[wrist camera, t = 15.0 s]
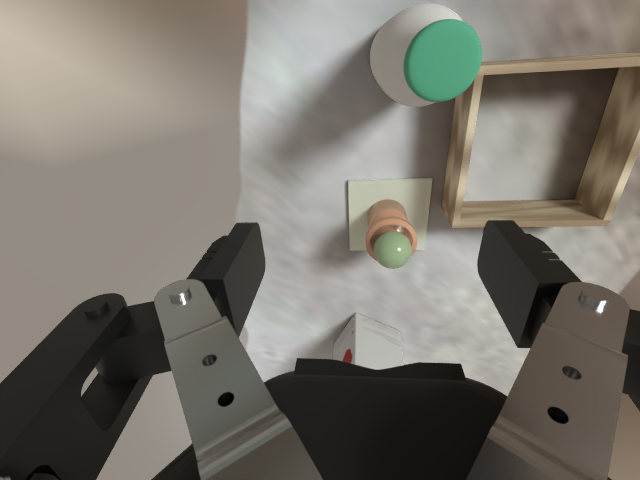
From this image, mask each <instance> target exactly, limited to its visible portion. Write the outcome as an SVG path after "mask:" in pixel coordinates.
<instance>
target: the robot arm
mask: <svg viewBox="0 0 640 480" xmlns="http://www.w3.org/2000/svg"><path fill="white" fill-rule="evenodd" d="M477 265H478V273H479V276H480V278H481V280H482V282H483V284H484V286H485V288H486V289H487V291H488V293H489V295H490V297H491V299H492V301H493V303H494V304H495V306H496V308H497V310H498V312H499V314H500V316H501V318H502V319H503V321H504V323H505V325H506V327H507V329H508V331H509V332H510V334H511V336H512V338H513V340H514V342H515V344H516V346H517V347H518V348H531V349H530V351H529V353H528V355H527V357H526V359H525V361H524V363H523V366H522V368H521V370H520V372H519V374H518V376H517V378H516V380H515V382H514V384H513V387H512V389H511V391H510V393H509V395H508V397H507V396H506V395H504V394H503V393H501V392H499V391H497V390H496V389H494V388H492V387H490V386H488V385H485V384H483V383H481V382H478V381H475V380H472V379H469V378H465V375H464V372H463V369H462V366H461V364H451V363H421V362H419V363H413V364H408V365H403V366H397V367H392V368H387V369H381V370H375V369H371V368H367V367H363V366H359V365H355V364H351V363H347V362H343V361H339V360H331V359H301V358H297V361H296V367H295V371H292V372H288V373H285V374H281V375H279V376H276V377H274V378H272V379H270V380H268V381H266V382H263V381H262V379H261V377H260V375H259V374H258V372H257V370H256V368H255V366H254V365H253V363H252V361H251V359H250V358H249V356H248V354H247V352H246V350H245V349H244V347H243V345H242V343H241V342H240V340H239V336H240V333H241V331H242V328H243V326H244V323H245V321H246V318H247V316H248V313H249V311H250V308H251V306H252V303H253V301H254V298H255V296H256V293H257V291H258V288H259V286H260V283H261V281H262V278H263V276H264V272H265V256H264V250H263V244H262V238H261V232H260V227H259V224H258V223H236V224H235V226H234V227H233V229H232V231H231V232H230V233H229V235H228V236H222V237H221V238H219V239H218V240H216V241H215V242H213V243H212V245H211V246H210V247H209V249H208V250H207V253H205V254H204V255H203V257H202V260H200V261H199V262H198V264H197V265H196V267H195V268H194V269H193V271H192V272H191V273H190V275H189V276H188V278H187V279H186V280H180V281H177V282H174V283H172V284H169V285H168V286H166V287H164V288H163V289H161V290H160V291H159V292H158V293H157V295H156V296H155V298H154V301H153V302H147V303H142V304H137V305H132V306H127V304H126V302H125V300H124V298H123V296H121V295H119V294H115V293H110V294H103V295H99V296H96V297H93V298H91V299H88V300H86V301H84V302H83V303H81V304H79V305H78V306H77V307H76V308H74V309H73V310H72V311H71V313H69V315H67V316H66V317H65V318H64V319H63V320H62V321H61V322H60V323H59V324H58V326H56V327H55V329H54V330H53V331H52V332H51V333H50V334H49V335H48V336H47V337H46V338H45V339H44V340H43V341H42V342H41V343H40V344H39V345H38V346H37V347H36V348H35V349H34V350H33V351H32V352H31V353H30V354H29V355H28V356H27V357H26V358H25V359H24V360H23V361H22V362H21V363H20V364H19V365H18V366H17V367H16V368H15V369H14V370H13V371H12V372H11V373H10V374H9V375H8V376H7V377H6V378H5V379H4V380H3V381H2V382H1V383H0V480H96V479H97V476H98V475H99V473H100V471H101V469H102V467H103V466H104V464H105V462H106V460H107V458H108V457H109V455H110V453H111V451H112V449H113V447H114V446H115V444H116V442H117V440H118V438H119V436H120V434H121V433H122V431H123V429H124V427H125V425H126V423H127V422H128V420H129V418H130V416H131V414H132V412H133V411H134V409H135V407H136V405H137V403H138V401H139V400H140V398H141V396H142V394H143V392H144V391H145V389H146V387H147V385H148V383H149V381H150V379H151V378H152V376H153V375H155V374H159V373H164V372H168V371H172V373H173V376H174V380H175V383H176V387H177V390H178V394H179V397H180V401H181V404H182V408H183V412H184V415H185V419H186V422H187V426H188V429H189V433H190V436H191V440H192V444H191V445H190V446H189V447H188V448H187V449H186V450H184V451H183V452H182V453H181V454H180V455H179V456H178V457H176V458H175V459H174V460H173V461H172V462H171V463H170V464H169V465H168V466H166V467H165V468H164V469H163V470H162V471H161V472H159V473H158V474H157V475H156V476H155V477H154V478H153V479H151V480H611V479H610V478H609V477H608V472H609V466H610V460H611V454H612V449H613V443H614V437H615V431H616V425H617V420H618V414H619V408H620V402H621V396H622V393H625V394H628V395H629V397H630V398H631V399H632V401H633V402H634V404H635V405H636V407H637V408H638V409H639V411H640V311H636V310H631V309H630V308H629V305H628V303H627V302H626V301H625V300H624V299H623V298H622V297H621V296H619V295H618V294H616V293H615V292H613V291H611V290H609V289H607V288H604V287H602V286H599V285H595V284H591V283H585V282H582V281H581V280H580V279H579V278H578V277H577V276H576V275H575V274H574V273H573V272H572V271H571V270H570V269H569V268H568V267H567V266H566V265H565V264H564V262H563V261H562V260H560V258H559V257H558V256H557V255H556V254H555V253H552V250H551V249H550V248H549V247H548V246H547V245H546V244H545V243H544V242H543V241H541V240H540V239H538V238H536V237H534V236H532V235H531V234H525V233H524V231H523V230H522V229H521V228H520V227H519V226H518V225H517V224H516V223H515V221H513V220H488V221H487V222H486V224H485V227H484V232H483V237H482V241H481V246H480V251H479V256H478V264H477ZM95 367H96V369H97V371H98V372H99V373H98V374H97V376H96V377H95V378H94V380H93V381H92V383H91V384H90V385H89V387H88V388H87V390H86V391H85V392H84V394H83V395H82V397H81V390H82V386H83V384H84V382H85V380H86V378H87V377H88V376H89V374H90V373H91V372H92V370H93V369H94V368H95Z"/></svg>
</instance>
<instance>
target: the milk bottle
mask: <svg viewBox="0 0 640 480" xmlns="http://www.w3.org/2000/svg"><path fill="white" fill-rule="evenodd" d="M481 61H482V47H481V42H480V39H479V37H478V35H477V33H476V32H475V30H474V29H473V28H472V27H471V26H470V25H468V24H467V23H465V22H463V21H462V20H461V18H460V17H459V16H458V15H457V14H456V13H455V12H453V11H452V10H451V9H449V8H447V7H444V6H442V5H438V4H432V3H426V4H419V5H415V6H412V7H409V8H407V9H405V10H403V11H401V12H400V13H398V14H396V15H395V16H394V17H392V18H391V19H390V20H388V21H387V22H386V23H385V24H384V25H383V26H382V27H381V28H380V30H379V31H378V32H377V34H376V36H375V38H374V40H373V43H372V46H371V51H370V65H371V70H372V73H373V75H374V77H375V79H376V81H377V82H378V84H379V86H380V87H381V88H382V90H383V91H384V92H385V93H386V94H387V95H388V96H389V97H390V98H392V99H393V100H394V101H396V102H398V103H400V104H403V105H406V106H413V107H420V106H427V105H430V104H433V103H435V102H444V101H448V100H451V99H453V98H455V97H457V96H459V95H460V94H462V93H463V92H464V91H465V90H466V89H467V88H468V87H469V86H470V85H471V84H472V82H473V81H474V79H475V78H476V76H477V74H478V72H479V69H480V66H481Z"/></svg>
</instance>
